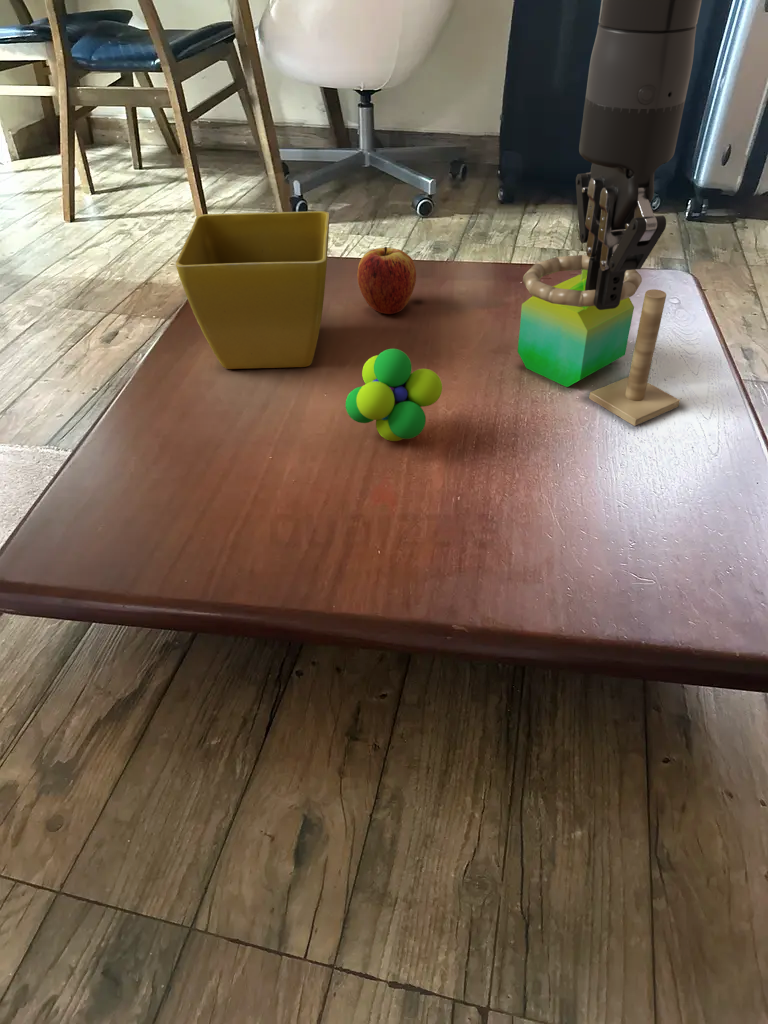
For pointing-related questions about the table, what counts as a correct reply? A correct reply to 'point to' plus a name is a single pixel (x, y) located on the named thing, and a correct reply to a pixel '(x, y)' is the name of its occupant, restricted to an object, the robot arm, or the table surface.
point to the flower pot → (257, 285)
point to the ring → (566, 295)
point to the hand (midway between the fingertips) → (600, 301)
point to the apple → (386, 279)
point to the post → (639, 372)
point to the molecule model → (393, 395)
